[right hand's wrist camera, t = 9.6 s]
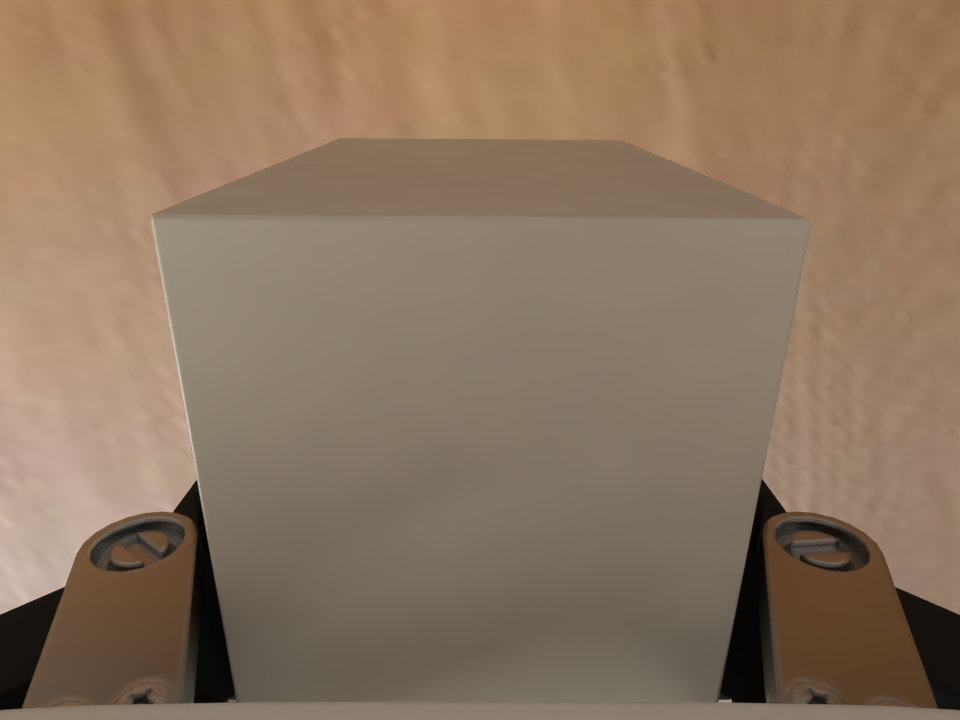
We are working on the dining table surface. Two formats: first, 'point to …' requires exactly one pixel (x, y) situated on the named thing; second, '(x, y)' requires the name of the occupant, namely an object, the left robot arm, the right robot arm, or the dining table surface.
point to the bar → (479, 416)
